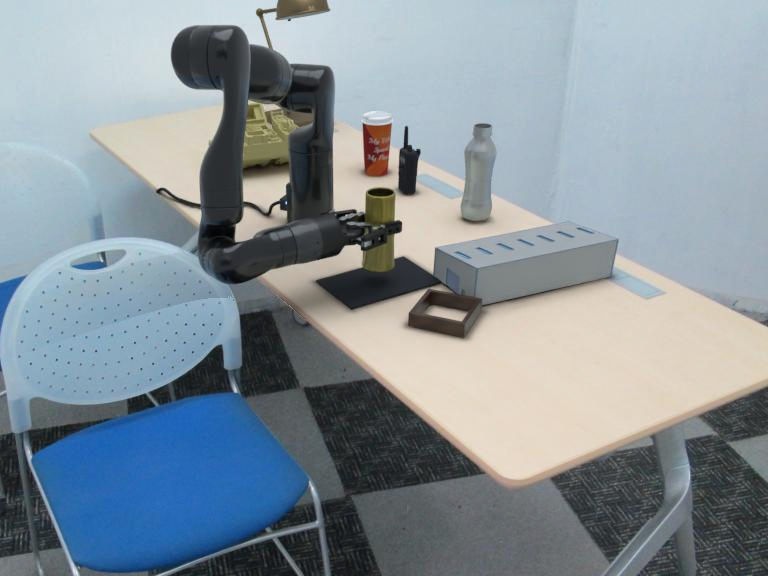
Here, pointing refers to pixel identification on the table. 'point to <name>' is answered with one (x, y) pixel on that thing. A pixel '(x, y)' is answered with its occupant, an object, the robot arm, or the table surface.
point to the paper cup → (376, 142)
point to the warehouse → (525, 261)
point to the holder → (444, 324)
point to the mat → (377, 283)
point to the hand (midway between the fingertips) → (391, 220)
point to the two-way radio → (408, 166)
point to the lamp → (290, 5)
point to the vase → (377, 212)
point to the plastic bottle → (478, 174)
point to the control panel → (265, 137)
